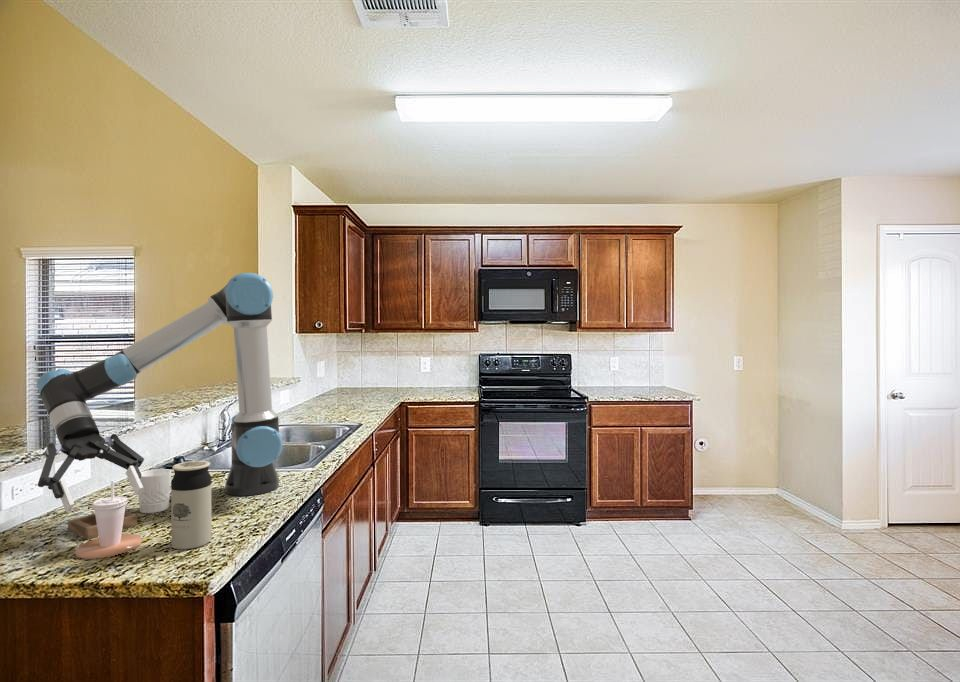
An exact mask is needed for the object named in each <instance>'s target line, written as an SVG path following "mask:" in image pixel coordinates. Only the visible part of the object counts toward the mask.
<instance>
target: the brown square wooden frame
mask: <svg viewBox="0 0 960 682" xmlns="http://www.w3.org/2000/svg"><path fill="white" fill-rule="evenodd" d="M137 526H138V515H136V514H133V513H131V512H128V511H126V510H125V513H124V520H123V527H122V529H123V530H126V528H127V529H130V528H133V527H137ZM67 527H68V528H67V529H68V530H67V531H68V532H70V533H72V534H75V535H77V536H80V537H82V538H84V539H86V540H88V539H89V540H93V539H96V538H99V537H98V536H99V535H98V529H97V523H96V516H95V513H92V514H89V515H84V516H80V517H76V518H72V519H68V520H67ZM129 527H130V528H129ZM95 537H96V538H95Z"/></svg>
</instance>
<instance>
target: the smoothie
mask: <svg viewBox="0 0 960 682" xmlns="http://www.w3.org/2000/svg"><path fill="white" fill-rule="evenodd" d="M114 485H115V481H114V480H111V481H110V496H109V497H104V498H103V497H102V498H100V499H99V498H98V499H97V500H95V501H93V503H92V509H93V510H94V514H95V516H96V523H97V529H98V535H99V537H98V538H99V542H100V546H101V547H111V546H115V545H117V544H119V543H120V541H121V534H123V533H122V532H123V530H122V527H123V520H124V513H125V511H126V506H127V504H128V503H129V502H128V498H127V497H126V496H121V495H119V496H116V495H115V486H114Z"/></svg>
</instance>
